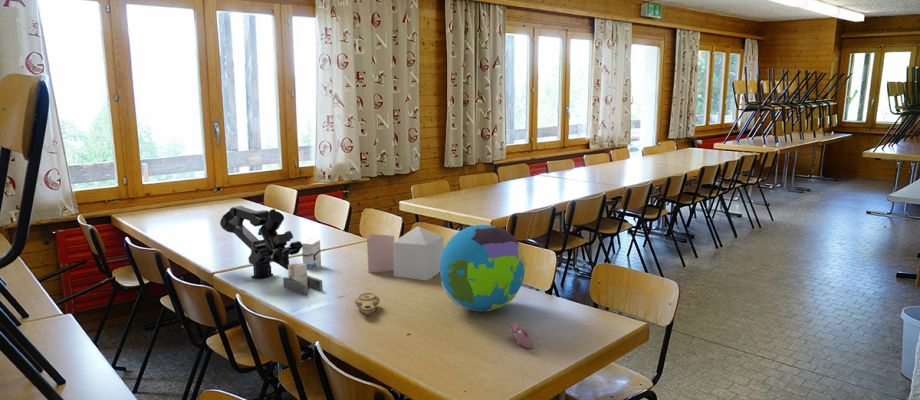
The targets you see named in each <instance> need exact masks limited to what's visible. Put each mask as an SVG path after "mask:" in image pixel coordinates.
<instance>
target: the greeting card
mask: <svg viewBox="0 0 920 400" xmlns="http://www.w3.org/2000/svg"><path fill="white" fill-rule="evenodd" d="M394 241H395V236H394V235H389V234H387V235H385V234H373V233H369V237H367V238H366V242H367V243H366V245H367V246H366V247H367V250H366V251H367V269H368V270H367V272H368V273H377V272H389V271H394V261H393V242H394Z"/></svg>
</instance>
